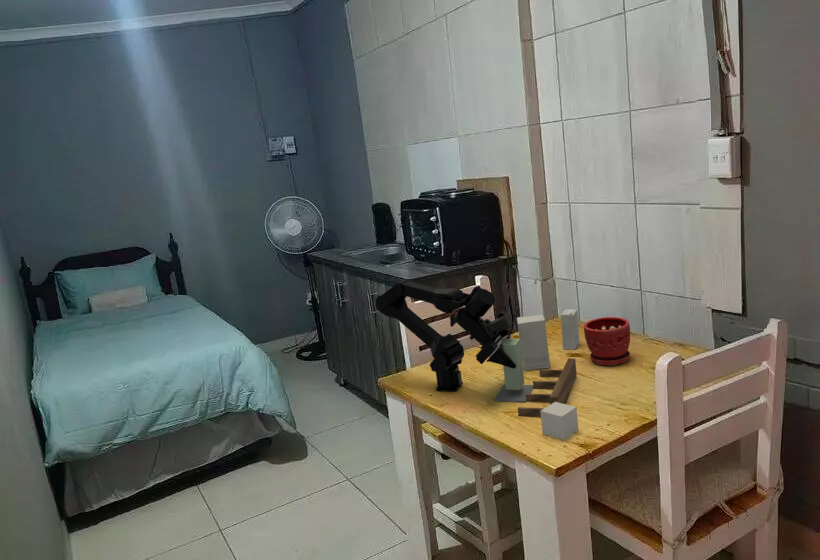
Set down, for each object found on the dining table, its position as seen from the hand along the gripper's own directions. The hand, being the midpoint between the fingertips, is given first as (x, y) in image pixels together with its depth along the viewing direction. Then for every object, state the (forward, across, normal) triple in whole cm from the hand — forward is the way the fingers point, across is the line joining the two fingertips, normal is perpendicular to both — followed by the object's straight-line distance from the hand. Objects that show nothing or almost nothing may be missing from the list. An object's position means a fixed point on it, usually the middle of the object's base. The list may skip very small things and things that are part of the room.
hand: (517, 363), depth 170 cm
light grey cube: (+17, -21, -4) cm, 27 cm away
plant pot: (+21, +27, -8) cm, 35 cm away
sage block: (+4, 0, +6) cm, 7 cm away
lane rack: (+12, 0, +1) cm, 12 cm away
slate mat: (+5, 0, +8) cm, 9 cm away
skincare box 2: (+12, +39, +1) cm, 41 cm away
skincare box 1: (+6, +21, +7) cm, 23 cm away
